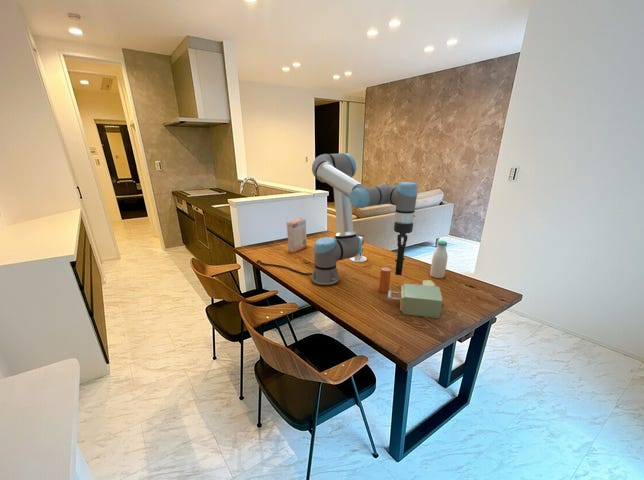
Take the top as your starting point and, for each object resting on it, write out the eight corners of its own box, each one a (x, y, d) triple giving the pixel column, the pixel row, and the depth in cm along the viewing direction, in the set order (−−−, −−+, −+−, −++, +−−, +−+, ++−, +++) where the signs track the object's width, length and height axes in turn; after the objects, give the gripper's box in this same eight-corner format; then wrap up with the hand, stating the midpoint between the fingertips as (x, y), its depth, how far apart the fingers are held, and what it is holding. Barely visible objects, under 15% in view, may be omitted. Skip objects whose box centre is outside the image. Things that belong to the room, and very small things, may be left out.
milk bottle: (445, 279, 163) (451, 244, 155) (430, 278, 165) (436, 243, 156) (443, 273, 170) (449, 240, 162) (428, 272, 171) (434, 239, 163)
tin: (378, 292, 150) (380, 270, 145) (379, 288, 154) (381, 266, 149) (388, 293, 149) (390, 271, 144) (388, 289, 153) (391, 267, 148)
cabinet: (402, 313, 131) (404, 296, 128) (402, 299, 143) (404, 283, 140) (439, 318, 128) (442, 301, 124) (436, 302, 140) (439, 286, 136)
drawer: (386, 309, 133) (387, 296, 130) (387, 296, 144) (388, 284, 141) (434, 315, 128) (436, 301, 126) (431, 301, 139) (433, 288, 136)
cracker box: (300, 246, 216) (299, 217, 208) (307, 247, 213) (306, 218, 204) (287, 251, 206) (286, 221, 197) (294, 253, 203) (293, 223, 194)
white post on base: (364, 263, 185) (366, 240, 179) (347, 261, 188) (347, 238, 182) (368, 256, 195) (369, 234, 189) (351, 254, 199) (352, 233, 192)
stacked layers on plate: (415, 288, 153) (416, 278, 151) (432, 288, 153) (434, 279, 151) (420, 297, 144) (421, 287, 142) (438, 298, 144) (440, 288, 142)
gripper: (413, 226, 115) (407, 281, 125) (413, 218, 126) (407, 269, 136) (394, 225, 116) (389, 279, 126) (395, 217, 128) (390, 268, 138)
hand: (398, 274), depth 131 cm, fingers closed
